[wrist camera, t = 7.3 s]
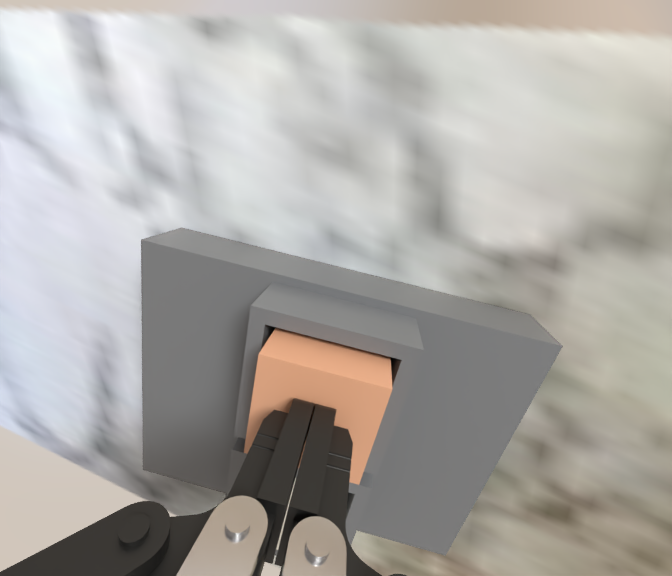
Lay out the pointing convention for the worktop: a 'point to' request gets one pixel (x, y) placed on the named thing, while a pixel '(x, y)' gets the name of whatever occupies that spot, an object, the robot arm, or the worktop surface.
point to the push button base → (347, 329)
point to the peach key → (323, 387)
